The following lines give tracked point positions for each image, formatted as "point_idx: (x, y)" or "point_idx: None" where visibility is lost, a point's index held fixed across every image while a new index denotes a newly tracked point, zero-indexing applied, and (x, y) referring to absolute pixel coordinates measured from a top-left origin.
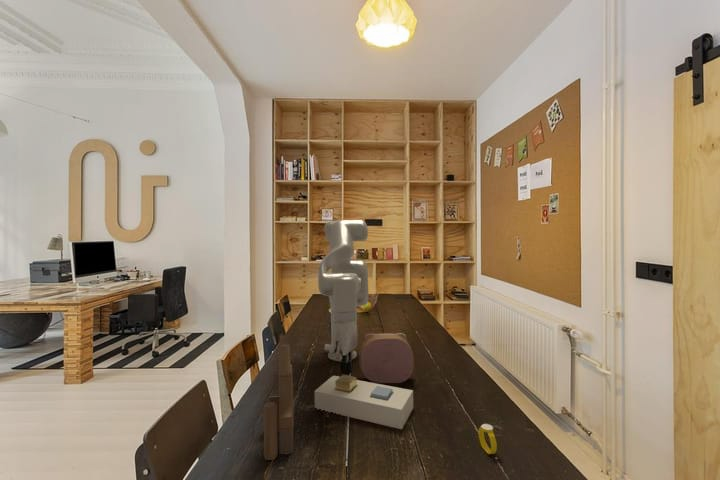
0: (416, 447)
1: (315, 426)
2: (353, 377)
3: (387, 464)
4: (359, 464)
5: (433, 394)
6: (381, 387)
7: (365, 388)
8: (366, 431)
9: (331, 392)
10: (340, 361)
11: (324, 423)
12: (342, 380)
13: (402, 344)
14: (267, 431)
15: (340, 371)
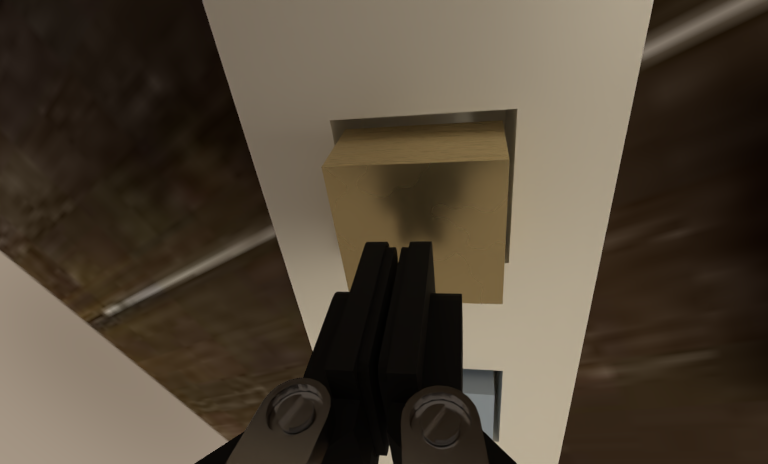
0: None
1: (140, 95)
2: (486, 282)
3: (198, 390)
4: (139, 339)
5: (703, 455)
6: (485, 415)
7: (472, 320)
8: (281, 310)
9: (276, 131)
10: (278, 399)
11: (194, 124)
12: (371, 223)
13: None
14: None
15: (364, 252)
